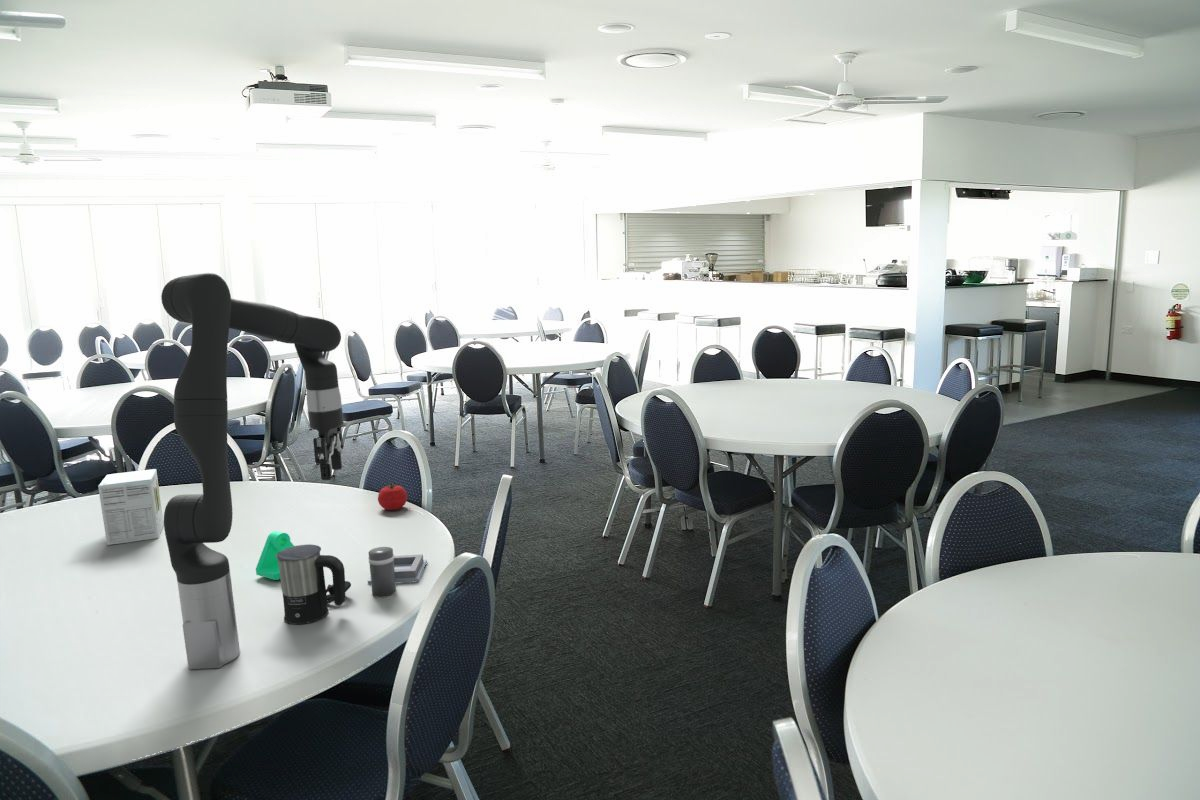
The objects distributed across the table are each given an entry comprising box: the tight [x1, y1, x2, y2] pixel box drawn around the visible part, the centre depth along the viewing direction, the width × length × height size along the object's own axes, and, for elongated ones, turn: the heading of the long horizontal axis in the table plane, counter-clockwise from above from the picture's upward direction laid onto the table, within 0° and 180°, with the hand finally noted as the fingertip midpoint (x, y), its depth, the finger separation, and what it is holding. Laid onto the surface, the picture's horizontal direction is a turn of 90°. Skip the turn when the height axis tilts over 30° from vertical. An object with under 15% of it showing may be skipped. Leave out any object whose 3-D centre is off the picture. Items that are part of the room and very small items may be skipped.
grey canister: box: [368, 546, 397, 598], centre depth 188 cm, size 6×6×10 cm
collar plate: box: [367, 554, 428, 585], centre depth 199 cm, size 12×12×2 cm
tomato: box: [377, 483, 408, 511], centre depth 249 cm, size 9×9×8 cm
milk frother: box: [276, 543, 352, 625], centre depth 180 cm, size 14×16×15 cm
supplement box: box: [97, 468, 164, 546], centre depth 233 cm, size 13×13×18 cm
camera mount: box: [255, 530, 295, 581], centre depth 202 cm, size 12×8×10 cm, turn 148°
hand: (332, 474), depth 191 cm, fingers open, 8 cm apart
